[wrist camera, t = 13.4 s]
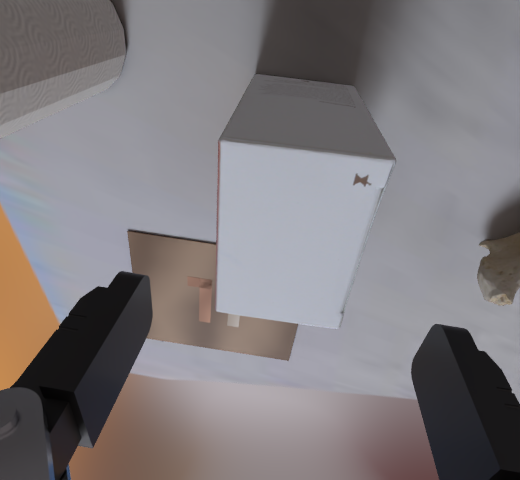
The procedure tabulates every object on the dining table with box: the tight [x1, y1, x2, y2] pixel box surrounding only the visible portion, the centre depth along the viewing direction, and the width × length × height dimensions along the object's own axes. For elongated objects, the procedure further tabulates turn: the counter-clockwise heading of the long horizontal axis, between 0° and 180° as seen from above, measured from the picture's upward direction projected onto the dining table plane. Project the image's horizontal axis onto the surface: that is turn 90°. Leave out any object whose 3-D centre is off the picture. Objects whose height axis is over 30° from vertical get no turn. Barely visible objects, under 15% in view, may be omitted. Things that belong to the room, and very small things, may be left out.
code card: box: [127, 231, 298, 361], centre depth 29 cm, size 14×12×1 cm
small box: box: [215, 74, 396, 329], centre depth 17 cm, size 8×6×10 cm
